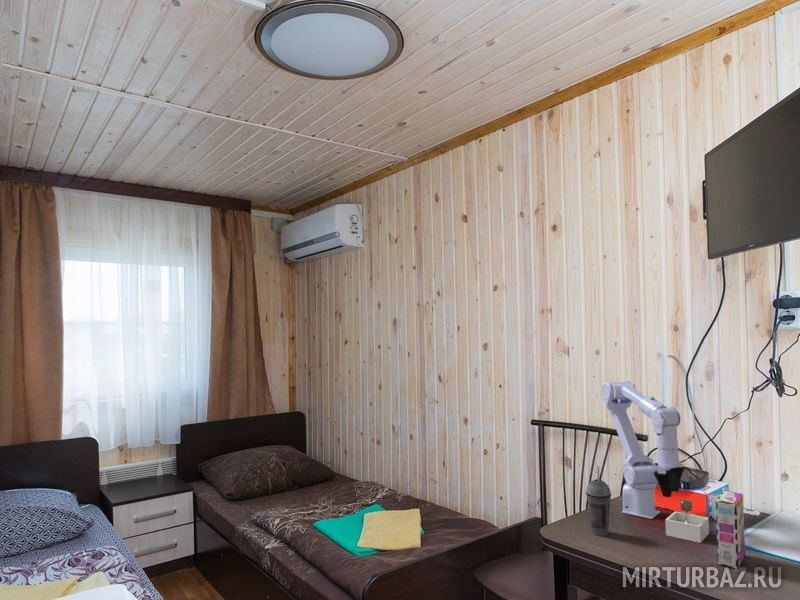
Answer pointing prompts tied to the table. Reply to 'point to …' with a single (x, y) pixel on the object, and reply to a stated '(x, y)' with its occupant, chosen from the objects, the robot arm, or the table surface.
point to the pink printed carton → (730, 529)
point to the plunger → (686, 509)
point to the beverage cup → (598, 505)
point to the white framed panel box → (687, 527)
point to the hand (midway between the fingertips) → (670, 493)
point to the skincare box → (714, 505)
